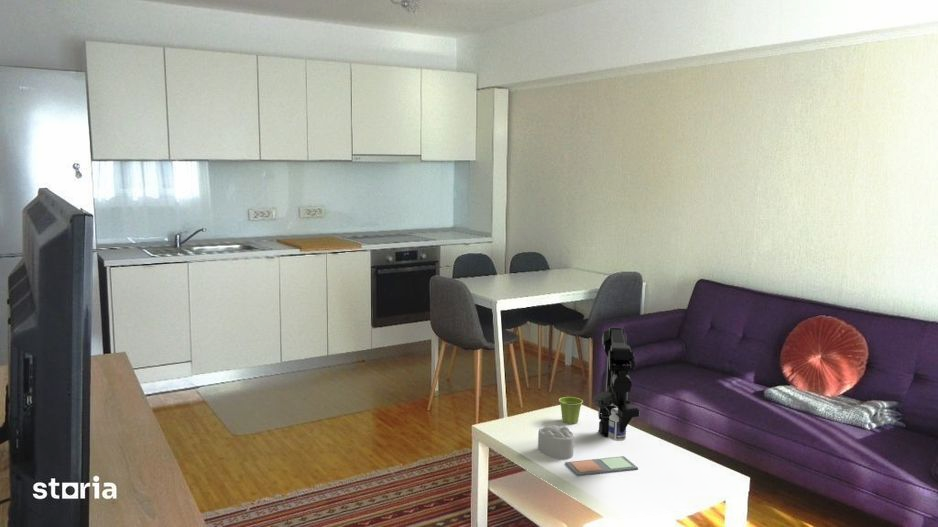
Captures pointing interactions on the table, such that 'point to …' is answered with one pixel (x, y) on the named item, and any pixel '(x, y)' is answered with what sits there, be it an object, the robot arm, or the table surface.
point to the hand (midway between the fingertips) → (617, 429)
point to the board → (601, 466)
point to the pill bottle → (615, 427)
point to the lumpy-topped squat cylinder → (556, 442)
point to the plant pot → (570, 409)
